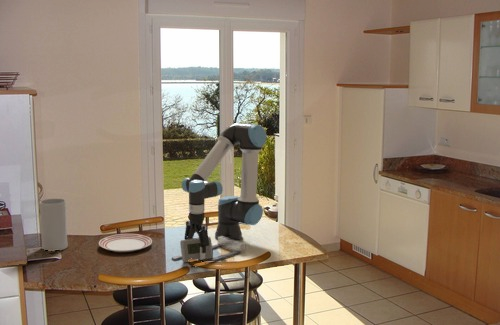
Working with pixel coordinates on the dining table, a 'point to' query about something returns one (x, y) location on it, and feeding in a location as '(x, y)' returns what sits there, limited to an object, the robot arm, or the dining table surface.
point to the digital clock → (194, 249)
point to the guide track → (224, 243)
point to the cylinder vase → (53, 224)
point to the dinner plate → (125, 242)
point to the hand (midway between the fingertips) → (196, 256)
